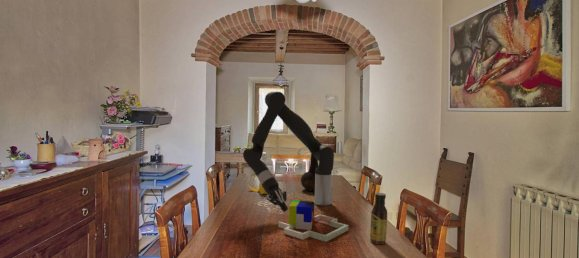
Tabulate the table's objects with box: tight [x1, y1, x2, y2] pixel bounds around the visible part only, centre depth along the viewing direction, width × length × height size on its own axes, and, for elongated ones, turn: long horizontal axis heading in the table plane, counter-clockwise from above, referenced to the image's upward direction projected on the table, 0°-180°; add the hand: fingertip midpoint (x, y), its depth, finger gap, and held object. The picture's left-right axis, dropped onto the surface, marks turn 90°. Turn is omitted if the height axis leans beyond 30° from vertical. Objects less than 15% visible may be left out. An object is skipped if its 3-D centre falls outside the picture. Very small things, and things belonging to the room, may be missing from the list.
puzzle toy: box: [288, 199, 315, 231], centre depth 147 cm, size 10×10×10 cm
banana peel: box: [247, 183, 268, 195], centre depth 210 cm, size 17×19×17 cm
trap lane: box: [278, 213, 349, 243], centre depth 143 cm, size 25×27×2 cm
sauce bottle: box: [369, 192, 388, 245], centre depth 129 cm, size 6×6×20 cm
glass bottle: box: [300, 151, 319, 192], centre depth 218 cm, size 18×18×28 cm
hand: (286, 210), depth 153 cm, fingers closed
